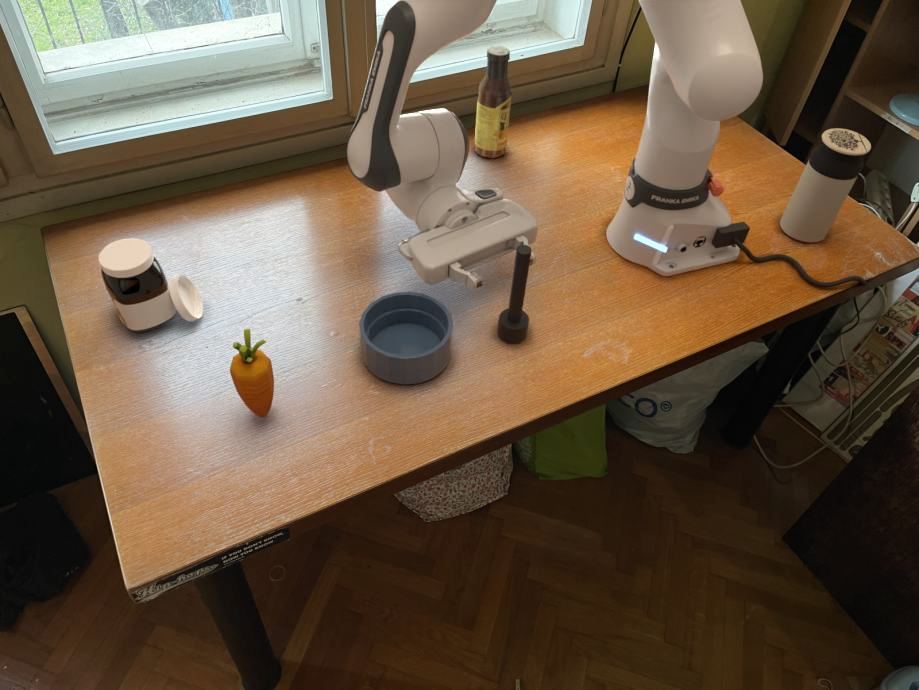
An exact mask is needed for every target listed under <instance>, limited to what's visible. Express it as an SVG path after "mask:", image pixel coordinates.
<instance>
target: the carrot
mask: <svg viewBox="0 0 919 690" xmlns="http://www.w3.org/2000/svg"><path fill="white" fill-rule="evenodd" d="M243 339H244V344H241V343H240V342H238V341H235V342H233V343H232V348H233V349H235V350H236V351H238V353H237V354H235V355H234V356H233V357H232V360H231V363H230V366H229V373H230V377H231V379H232V383H233V385H234V387H235V390H236V392H237V394H238V396H239V398H240V400H242V402H243V404H244V405H245V406H246V407H247V408H248V409H249V410H250V412H252V413H253V414H254V415H255V416H257V417H259V418H265V417H266V416H267V415H268V414H269V412H270V411H271V409H272V404H273V400H274V394H275V393H274V392H275V378H274V370H273V365H272V360H271V359H270V357H269V356H268V355H266V354H265V352H264V351H263V350H261V349H260V347H262V346H263V345H265V344H266V343H267V341H266V340H265V339H261V340H259V341H257V342H256V343H255V344H254V345H253V347H252V342H251V341H252V340H251V339H252V337H251V328H245V329H243Z"/></svg>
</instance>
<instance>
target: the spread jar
mask: <svg viewBox="0 0 919 690" xmlns="http://www.w3.org/2000/svg"><path fill="white" fill-rule="evenodd" d="M98 262H99V264H100V267H101V268H100V274H101V278H102V281H103V284H104V286H105V289H106V291H107V293H108V295H109V298H110V300H111V302H112V305H113V307H114V310H115V312H116V314H117V316H118V318H119V321H121V324H123V325H124V327H125V328H127V329H128V330H130V331H132V332H136V333H143V332H148V331H153V330H156V329H158V328H161V327H162V326H164V325H166V324H167V323H169V322H170V321H171V320H172V319H173V318H174V317H175V316H176V314H177V312H178V314H179V315H180V316H181V318H182V319H184V320H185V321H187V322H194V321H197V320H200V319H201V318H202V317H203V316H204V315H203V314H204V305H203V301H202V298H201V295H200V292H199V290H198V289H197V287H196V285H195V284H194V282H193V281H192V280H191V279H190V278H189V277H188V276H187V275H186V274H179V275H176V276H173V277H171V278H170V279H169V282H168V279H167V277H166V274H165V272H164V269H163V268H162V265H161V264H160V262H159V261H158V259H157V258H156V257H155V255H154V251H153V249H152V247H151V245H150V244H149V242H147V241H146V240H143V239H139V238H135V237H133V238H131V237H129V238H121V239H118V240H114V241H113V242H111V243H109V244H107V245H106V246H104V247H103V248H102V250H101V251H100V252H99V254H98Z"/></svg>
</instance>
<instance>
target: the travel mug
mask: <svg viewBox="0 0 919 690" xmlns="http://www.w3.org/2000/svg"><path fill="white" fill-rule="evenodd" d="M871 149H872V145H871V142H870V141H869V139H867V137H865V136H864V135H862V134H861V133H859V132H856V131H854V130H850V129H848V128H840V127H839V128H838V127H835V128H829V129H826V130H824V132H823V133H822V134H821V142H820V144H819V145H817V146H816V147H814V149H813V150H812V152H811V154H810V156H809V158H808V161H807V163H806V165H805V167H804V169H803V171H802V173H801V176H800V178H799V179H798V182H797V184H796V186H795V188H794V190H793V192H792V195H791V197H790V200H789V201H788V204H787V205H786V207H785V209H784V212H783V214H782V216H781V217H780V221H779V226H780V228H781V230H782V231H783V232H784V233H785V234H786V235H787V236H789V237H790V238H792V239H794V240H797V241H800V242H803V243H818V242H822V241H823V240H824V239H826V237H827V234H828V233H829V232H830V229H831V227H832V225H833V223H834V221H836V218H837V216H838V215H839V212H840V211H841V209H842V207H843V205H844V203H845V201H846V199H847V197H848V196H849V194H850V192H851V190H852V188H853V186H854V184H855V182H856V180H857V179H858V176H859V175H860V173H861V171H862V170H863V168H864V157H865V155H866V154H868V153H869V152H870V151H871Z"/></svg>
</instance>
